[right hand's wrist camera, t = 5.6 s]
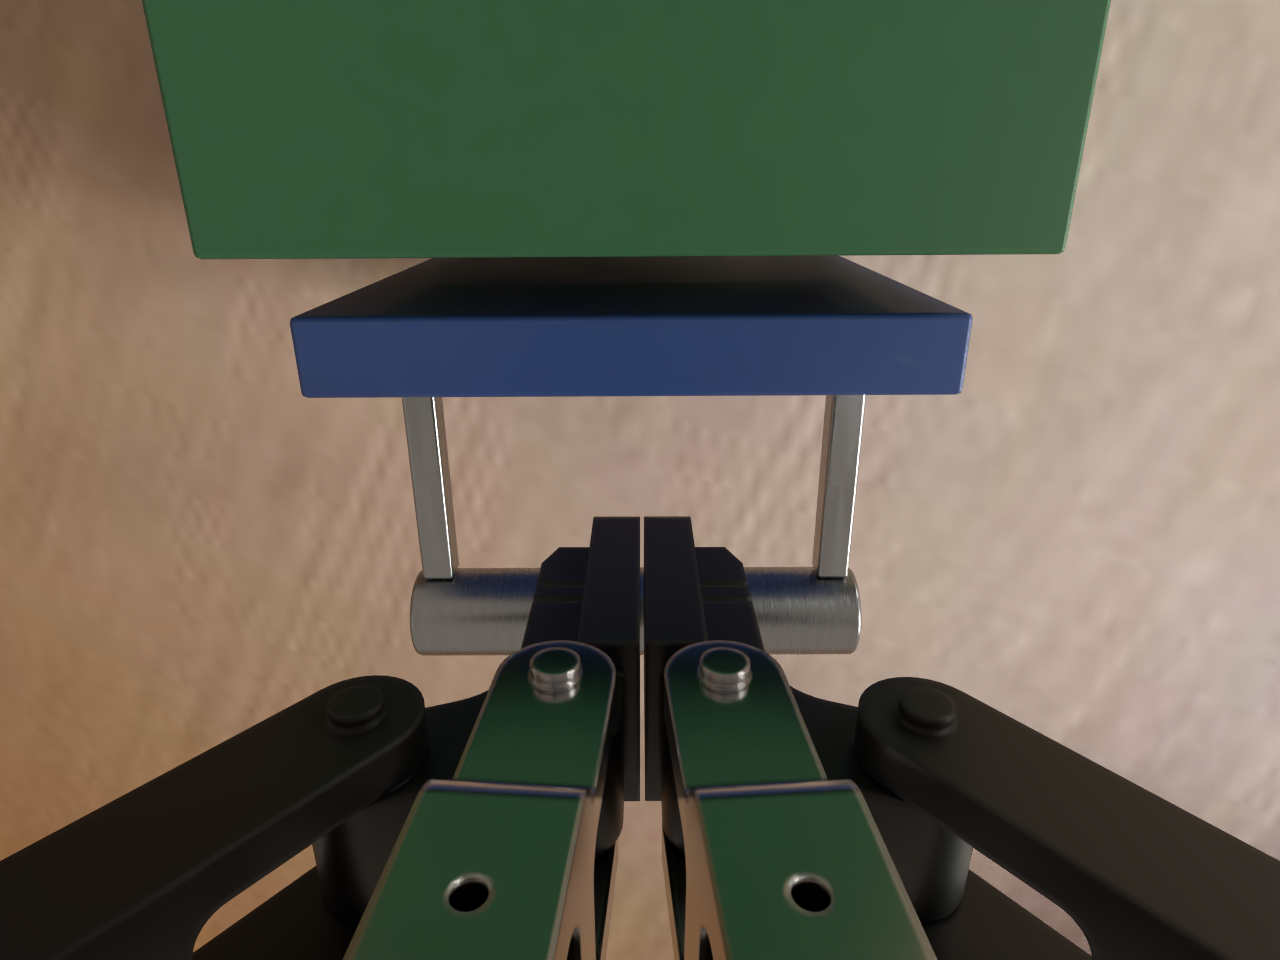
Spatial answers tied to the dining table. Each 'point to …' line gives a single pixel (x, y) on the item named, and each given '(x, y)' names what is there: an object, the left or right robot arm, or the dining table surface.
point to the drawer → (632, 393)
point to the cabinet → (626, 125)
